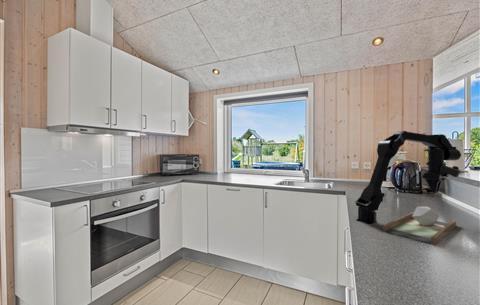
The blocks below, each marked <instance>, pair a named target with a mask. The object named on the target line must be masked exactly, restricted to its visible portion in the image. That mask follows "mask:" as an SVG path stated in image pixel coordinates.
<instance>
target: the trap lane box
mask: <svg viewBox="0 0 480 305" xmlns="http://www.w3.org/2000/svg"><path fill="white" fill-rule="evenodd" d="M413 213H414V211H413V212H412V211H411V212H408V213H406V214H405V215H402V216H400V217H398V218H395V219H394V220H392V221H389V222H388V223H385V224H384V225H383V232H385V233H388V234H392V235H395V236H399V237H403V238H407V239H411V240H415V241H419V242H421V243H426V244H429V245H432V246H436V245H437V244H438V243H439V242H440V241H441V240H442V239H443V238H444V237H446V235H447V234H449V233H450V232H451V231H452V230H453V229H454V228H455V227H456V226H457V220H456V219H452V220H451V221H450V222H443V221H438V220H437V221H436V223H435V225H434V226H422V225H421V224H420V223H419V222H417V221H416V220H415V219H414V218H413V217H412V215H413Z"/></svg>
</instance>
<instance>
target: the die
mask: <svg viewBox="0 0 480 305" xmlns="http://www.w3.org/2000/svg"><path fill="white" fill-rule="evenodd" d="M413 212H414V213H413V215H412V217H413V218H414V219H415V220H416V221H417V222H419V223H420V224H421V225H422V226H434V225H435V223H436V221H438V219H439V217H440V215H439V213H437V212H435V211H434V210H433V209H432V208H431V207H429V206H416V207H415V209H414V211H413Z"/></svg>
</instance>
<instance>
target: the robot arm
mask: <svg viewBox="0 0 480 305" xmlns="http://www.w3.org/2000/svg"><path fill="white" fill-rule="evenodd" d="M405 141H408V142H415V143H420V144H423V145H424V146H427V147H426V148H425V149H424V150H423V151H424V152H428V153H427V162H426V165H427V170H426V172H423V173H422V174H421V179H424V180H425V182H426V183H427V184H428V187H429V188H430V190H431V192H432V193H433V194H436V193H439V190H440V188H441V185H442V183H443V181H445V180H446V179H447V178H449V176H452V177H453V178H458V177H459V176H460V174H461V172H462V170H461V169H460V167H459V166H456V165H454V166H452V167H451V166H448V165H447V163H446V162H445V161H458V160H460V159H461V156H462V153H461V151H460V150H459V149H457V146H453V145H452V144H451V142H450V140H449V139H448V138H447V136H446V134H441V133H440V134H424V133H418V132H411V131H406V130H401V131H400V130H399V131H397V132H394V134H391V135H390V136H388V137H386V138H385V139H384V140H381V141H379V142H378V143H377V146H376V147H377V148H376V153H377V156H378V157H377V160H376V162H375V166H374V169H373V172H372V174H371V178H370V181H369V183H368V185H367V186H366V187H365V188H364V189H363V190H362V192H361V194H360V196H359V197H358V198H357V200H356V201H355V202H354V203H355V205H356V206H357V210H358V211H357V218H356V221H357V222H362V223H364V224H365V223H367V224H369V225H370V224H371V225H372V224H374V223H377V221H378V220H377V212H376V211H379V207H380V205H381V204H382V203H383V200H384V197H385V193H384V192H382V185H383V182H384V180H385V176H386V174H387V170H388V167H389V165H390V163H391V160H392V159H393V158H394V157H395V156H396V155H397V153H398V151H399V149H400V148H401V147H402V146H403V145H404V144H405Z"/></svg>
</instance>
